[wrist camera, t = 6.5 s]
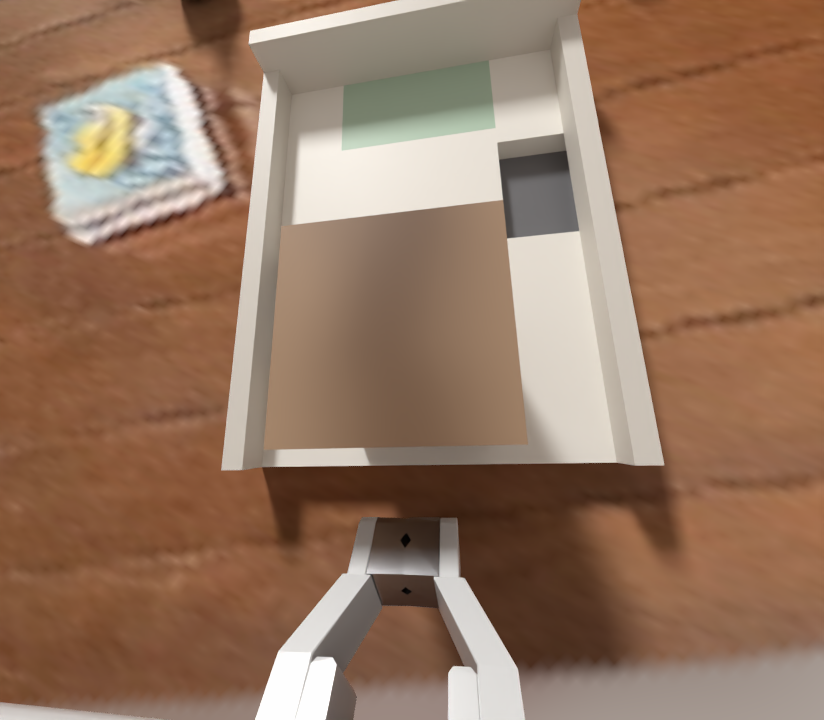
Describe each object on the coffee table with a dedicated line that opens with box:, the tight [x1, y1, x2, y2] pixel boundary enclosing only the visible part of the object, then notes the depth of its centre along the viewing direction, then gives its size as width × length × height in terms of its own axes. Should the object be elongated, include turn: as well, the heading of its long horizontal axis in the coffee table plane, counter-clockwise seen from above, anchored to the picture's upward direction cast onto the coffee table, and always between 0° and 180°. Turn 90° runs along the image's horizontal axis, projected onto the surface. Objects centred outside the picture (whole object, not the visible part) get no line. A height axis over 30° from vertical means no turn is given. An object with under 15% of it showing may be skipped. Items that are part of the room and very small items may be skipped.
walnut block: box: [264, 200, 528, 450], centre depth 12 cm, size 6×6×8 cm
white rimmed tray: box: [221, 0, 664, 470], centre depth 17 cm, size 18×24×4 cm
